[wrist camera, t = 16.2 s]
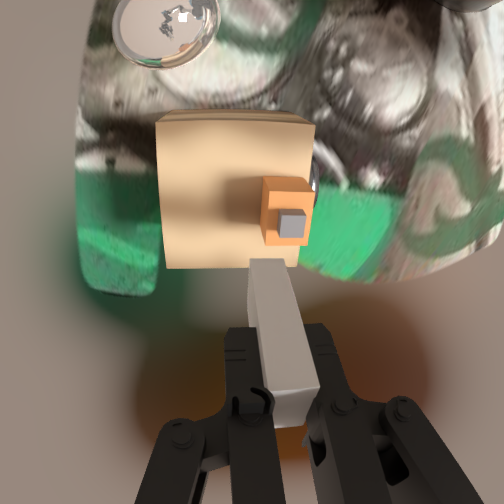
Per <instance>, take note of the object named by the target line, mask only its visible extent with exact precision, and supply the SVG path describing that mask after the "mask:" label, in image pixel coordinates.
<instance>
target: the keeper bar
mask: <svg viewBox="0 0 504 504" xmlns="http://www.w3.org/2000/svg"><path fill="white" fill-rule="evenodd" d="M314 198H315V192H314V190H313V189H312V188H311V186H310V185H309V184H308V183H307V181H306V180H305V179H304V178H301V177H274V176H263V186H262V201H261V215H260V228H261V232H262V236H263V240H264V243H265V246H307V244H308V237H309V231H310V225H311V218H312V212H313V205H314Z"/></svg>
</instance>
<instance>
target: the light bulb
mask: <svg viewBox="0 0 504 504" xmlns="http://www.w3.org/2000/svg"><path fill="white" fill-rule="evenodd" d="M220 21H221V17H220V8H219V4H218V2H217V0H120V2H119V3H118V5H117V7H116V9H115V12H114V14H113V18H112V36H113V40H114V43H115V45H116V47H117V49H118V51H119V52H120V53H121V54H122V55H123V57H125V58H126V59H127V60H129V61H130V62H131V63H133V64H135V65H138V66H140V67H142V68H146V69H150V70H168V69H174V68H177V67H181V66H183V65H186V64H188V63H190V62H192V61H193V60H195V59H196V58H198V57H199V56H201V55H202V54H203V53H204V52H205V51H206V50H207V49H208V48H209V46H210V45H211V44H212V42H213V41H214V39H215V37H216V35H217V33H218V31H219V26H220Z"/></svg>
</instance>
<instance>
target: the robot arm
mask: <svg viewBox="0 0 504 504" xmlns="http://www.w3.org/2000/svg"><path fill="white" fill-rule="evenodd" d="M435 1H436V2H438V3H439V4H441V5H443V6H444V7H446V8H449V9H451V10H454V11H457V12H464V13H466V12H480V11H484V10H486V9H488V8H489V7H491V6H492V5H494V4H496V3H498V2H500V1H502V0H435ZM247 309H248V318H249V327H241V328H229V329H228V332H227V334H226V335H225V337H224V354H225V355H224V356H225V385H226V386H225V387H226V401H225V404H224V406H223V407H222V409H221V410H220V411H219V412H218V413H216V414H215V415H213V416H211V417H208V418H205V419H201V420H198V421H195V422H194V421H192V420H189V419H184V418H178V419H174V420H170V421H169V422H167V423H166V424H165V425H164V426H163V428H162V429H161V430H160V432H159V435H158V438H157V440H156V443H155V446H154V449H153V452H152V454H151V457H150V460H149V463H148V466H147V469H146V472H145V474H144V477H143V480H142V483H141V486H140V489H139V492H138V494H137V497H136V500H135V503H134V504H201V502H202V498H203V494H204V490H205V487H206V482H207V479H208V475H209V471H212V470H215V469H218V468H221V467H224V466H227V465H230V477H231V478H230V479H231V491H232V492H231V493H232V504H286V501H285V494H284V488H283V482H282V474H281V468H280V461H279V454H278V449H277V441H276V436H275V428H281V427H291V426H300V425H303V424H304V422H305V420H306V422H307V427H308V431H307V433H306V435H305V437H304V439H303V441H302V447H305V446H306V444H307V447H308V452H309V457H310V463H311V468H312V473H313V479H314V484H315V489H316V494H317V500H318V504H484V503H483V501H482V500H481V498H480V497H479V495H478V493H477V492H476V490H475V489H474V487H473V485H472V484H471V482H470V481H469V479H468V478H467V476H466V475H465V473H464V472H463V470H462V469H461V467H460V466H459V464H458V463H457V461H456V460H455V458H454V457H453V455H452V454H451V452H450V451H449V449H448V448H447V446H446V445H445V443H444V442H443V440H442V439H441V438H440V436H439V435H438V433H437V432H436V430H435V429H434V427H433V426H432V425H431V423H430V422H429V420H428V419H427V418H426V416H425V415H424V413H423V412H422V411H421V409H420V408H419V406H418V405H417V404H416V403H415V402H414V401H413V400H412V399H410V398H408V397H406V396H397V397H394V398H392V399H391V400H390V401H388V403H380V402H372V401H367V400H363V399H361V398H359V397H358V396H357V395H356V394H354V393H353V392H352V391H351V390H350V387H349V385H348V383H347V380H346V377H345V374H344V371H343V368H342V365H341V362H340V359H339V356H338V354H337V350H336V347H335V346H334V342H333V339H332V336H331V333H330V332H329V331H328V329H327V328H326V327H325V326H324V325H323V324H322V323H317V324H303V323H302V319H301V316H300V312H299V309H298V305H297V302H296V298H295V295H294V291H293V288H292V285H291V281H290V278H289V275H288V271H287V268H286V264H285V261H284V258H250V261H249V279H248V298H247Z"/></svg>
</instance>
